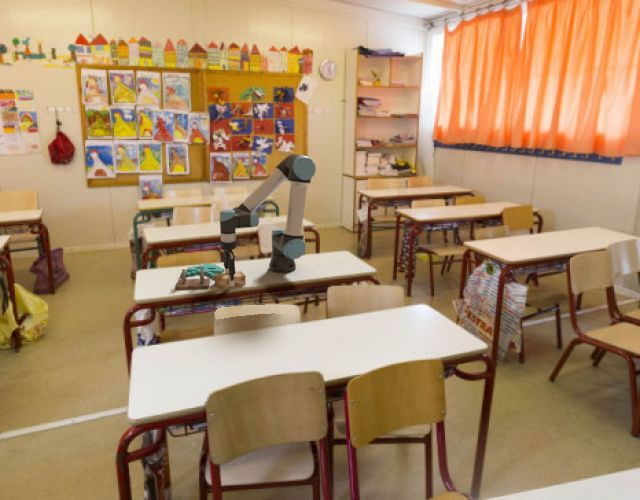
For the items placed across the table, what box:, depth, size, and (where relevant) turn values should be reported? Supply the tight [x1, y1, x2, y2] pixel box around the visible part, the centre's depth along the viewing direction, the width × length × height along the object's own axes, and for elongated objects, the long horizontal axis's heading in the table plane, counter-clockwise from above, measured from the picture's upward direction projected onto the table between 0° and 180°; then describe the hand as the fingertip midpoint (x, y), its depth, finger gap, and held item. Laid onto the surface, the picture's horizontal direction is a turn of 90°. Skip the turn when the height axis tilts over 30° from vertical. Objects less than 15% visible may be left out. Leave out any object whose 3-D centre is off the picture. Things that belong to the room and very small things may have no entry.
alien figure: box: [179, 263, 225, 280], centre depth 267 cm, size 20×2×20 cm
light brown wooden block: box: [214, 270, 247, 290], centre depth 250 cm, size 14×8×5 cm, turn 116°
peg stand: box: [175, 268, 211, 291], centre depth 247 cm, size 16×11×8 cm
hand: (229, 283), depth 250 cm, fingers closed on light brown wooden block, 8 cm apart
